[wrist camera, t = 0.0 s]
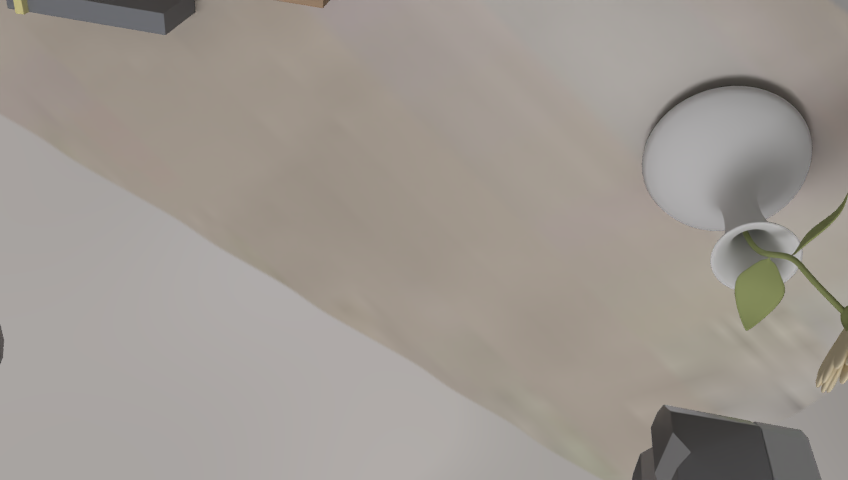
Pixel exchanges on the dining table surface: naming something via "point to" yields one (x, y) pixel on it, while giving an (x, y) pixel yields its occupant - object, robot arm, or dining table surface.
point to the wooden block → (309, 2)
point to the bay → (114, 12)
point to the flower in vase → (742, 195)
